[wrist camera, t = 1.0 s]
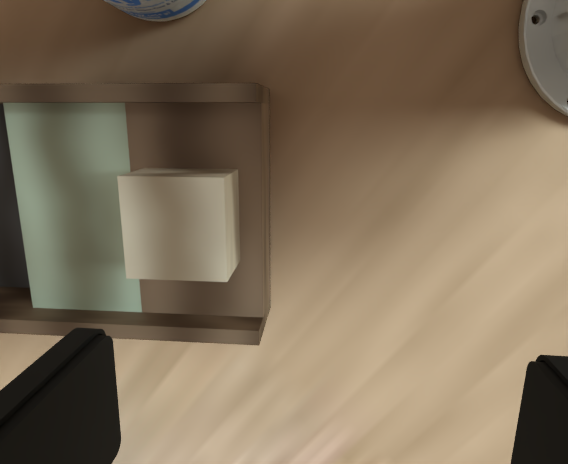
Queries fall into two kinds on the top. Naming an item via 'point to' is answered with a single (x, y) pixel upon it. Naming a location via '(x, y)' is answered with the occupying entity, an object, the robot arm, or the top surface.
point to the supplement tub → (157, 8)
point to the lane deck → (106, 207)
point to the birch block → (180, 223)
